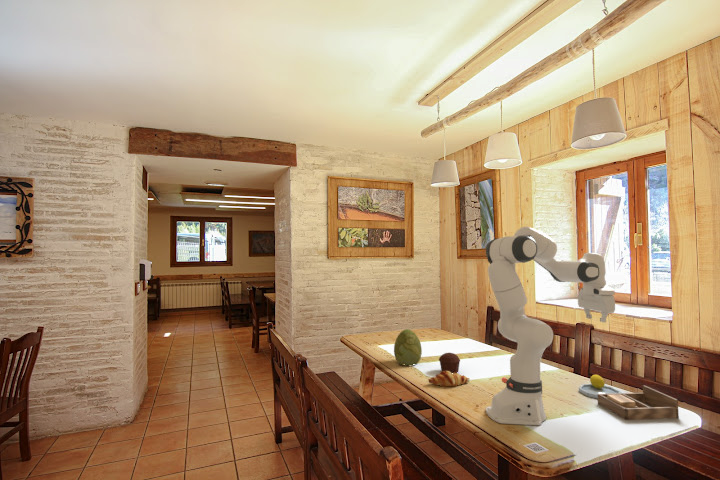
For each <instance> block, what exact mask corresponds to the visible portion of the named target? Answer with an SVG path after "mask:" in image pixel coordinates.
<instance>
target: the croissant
mask: <svg viewBox="0 0 720 480" xmlns="http://www.w3.org/2000/svg"><path fill="white" fill-rule="evenodd" d="M470 380H471V379H470V377H467V376H466V375H464V374H463V375H462V374H459V372H458V373H453V374H452V373H451V372H450V371H440V372H439V373H438V374H436V375H435V376H433V377H431V378H428V383H429V384H431V385H434V384H435V386H437V385H440V386H439V387H444V386H453V387H458V386H462V385H464V384H467V383H469V382H470ZM461 384H462V385H461ZM457 385H458V386H457Z"/></svg>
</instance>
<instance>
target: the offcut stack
mask: <svg viewBox="0 0 720 480" xmlns="http://www.w3.org/2000/svg"><path fill="white" fill-rule="evenodd" d="M607 398H608V399H610V400H612V401H614V402H616V403H618V404H619V405H621V406H623V407H625V408H638V407H637V406H636V404H635V402H634V401H633V400H631V399H629V398H627V397H625V396H623V395H621V394H619V395H607Z"/></svg>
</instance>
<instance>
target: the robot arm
mask: <svg viewBox="0 0 720 480" xmlns="http://www.w3.org/2000/svg"><path fill="white" fill-rule="evenodd" d="M557 252H558V246H557V243H556V241H555V240H554V239H553V238H551V237H550V236H548V235H547V234H545V233H544V232H542V231H540V230H538V229H535V228H533V227H530V226H522V227H520V228H519V229H517V230H516V231H515V233H514V234H513V236H511V235H510V236H509V235H508V236H504V237H499V238H494V239H492V240H490V241H489V242H487V244H486V247H485V256H486V258H487V262H488V267H487V274H488V278H489V284H490V286H491V288H492V291H493V294H494V297H495V299H496V302H497V305H498V309H499V313H500V314H499V316H500V317H499V320H498V321H497V330H498V332H499V334H501V335H502V336H503V337H504V338H506V339H507V340H509V341H512V342H515V343H517V347H516V352H515V353H514V354H513V355H512V356H510V359H509V366H510V367H509V369H510V371H509V372H510V376H509V378H507V377H505V376H503V377H502V378H501V382H502V383H504V384H505V385H506V386H505V387H504V388H502V390H500V391H499V392H497V393H495V394H494V395H493V396H492V399H491V406H490V405H489V406H486V407H485V413H486V415H487V416H488V417H489V418H491V420H493V421H494V422H496V423H499V424H507V425H508V424H510V425H523V426H524V425H525V426H541V425H542V423H543V422H544V421H546V420H547V415H546V412H545V407H544V403H543V396H542V395H543V381H542V379H541V361H542V357H543V354H544V352H545V350H546V348H548V347H550V345H551V344H552V343H553V339H554V331H553V329H552V327H551V326H550V325H549V324H547V323H545V322H544V321H542V320H540V319H537V318H533V317H528V316H527V315H526V312H525V306H526V305H527V304H528V298H527V294H526V293H525V289H524V287H523V284H522V283H521V279H520V277H519V275H518V273H517V271H516V264H521V263H522V264H523V263H528V262H530V261H532V260H533V261H534V262H535V263H536V264H538V266H540V267H542V268H543V269H545V270H546V271H547V272H548V273H549V274H550V276H551V277H552V278H553V280H555V281H556V282H558V283H567V282H568V283H580V284H582V287H581V288H580V289H579V291H578V295H577V305H578V307H579V308H581V309H582V308H583V311H584V314H585V318H586V319H587V320H588V319H589V320H592V318H593V317H592V316H593V315H592V314H591V311H597V312H600V315H601V316H600V317H599V321H600V322H601V323H606V322H607V317H608V316H609V314H614V313H615V311H616V301H615V300H616V299H615V297H614V295H615V292H616V291H615V290H614V289H613V288H611V287H610V286H608V285H607V281H606V279H605V278H606V277H605V276H606V263H605V258H604V256H603V255H602V254H600V253H596V252H585V253H583V256H582V257H581V258H579V259H577V260H563V259H562V260H561V259H556V258H555V256H556V255H557Z"/></svg>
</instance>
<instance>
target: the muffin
mask: <svg viewBox="0 0 720 480" xmlns="http://www.w3.org/2000/svg"><path fill="white" fill-rule="evenodd" d="M438 361H439V364H440V370H442V371H450V372H451V373H457V372H458V373H459V370H460V362H461V359H460V358H459V356H458V355H457V354H456V353H453V352H445V353H443V354H441V355H440V357H438ZM442 371H441V372H442Z"/></svg>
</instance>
